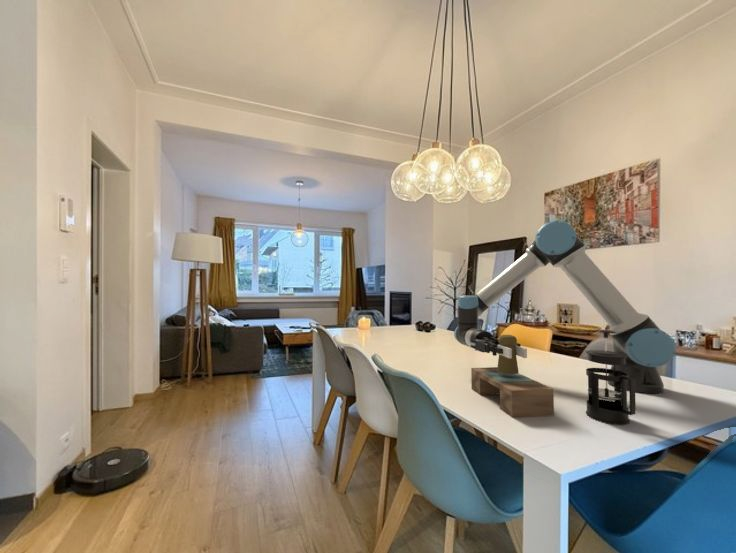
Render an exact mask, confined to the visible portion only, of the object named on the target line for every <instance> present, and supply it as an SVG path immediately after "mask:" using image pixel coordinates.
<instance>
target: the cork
mask: <svg viewBox="0 0 736 553" xmlns="http://www.w3.org/2000/svg"><path fill="white" fill-rule="evenodd" d="M497 339H498V342H499V344H500V345H501V346H505V347H508V348H511V349H512V358H507V357H504V356H502V355H499V354H498V360H497V371H498V372H501V373H505V374H517V373H519V367H518V360H517V355H516V351H515V346H516V344H517V343H518V340H517V338H516V336H514V335H511V334H501V335H500V336H499V337H498V338H497ZM519 374H520V373H519Z"/></svg>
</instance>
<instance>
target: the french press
mask: <svg viewBox="0 0 736 553" xmlns="http://www.w3.org/2000/svg"><path fill="white" fill-rule="evenodd" d="M596 332H597V333H602V334H603V338H604V348H605V349H604V350H602V349H600V350H599V349H595V350H594V349H593V350H590V349H589V350H586V351H585V353H586V354H587V359H588V361H589V362H592V363H597V364H601V365H604V366H605V368H604V367H603V368H602V367H588V368H586V369H585V372H586V374H585V375H586V376H587V381H588V382H587V386H588V388H587V393H588V396H587V397H588V398H587V400H586V410H585V414H587V415H586V416H587V417H588V416H589V417H588V418H590V417H591V419H592V418H593V419H592V420H594V419H595V421H597V420H598V421H597V422H600V421H601V423H604V422H605V423H604V424H610V425H615V424H616V426H617V425H618V426H621V425H623V426H624V425H628V424H630V422H631V421H630V418H629V417H630V416H633V415H636V412H637V410H636V409H637V408H636V391H635V379H633V378H629V377H628V374H627V373H624V372H621V371H618V370H613V369H611V368H608V365H610V366H612V365H625V364H626V363H625V358H627V357H628V356H627V355H626V354H622V353H618V352H613V350H612V351H611V350H608V344H607V343H608V340H607V339H608V338H609V333H616V332H614V331H610V329H608V330H607V329H597V330H596ZM608 374H613V375H614V376H608ZM601 380H602V381H605V388H602V387H601V388H600V386H599V385H600V384H599V382H600V381H601ZM628 380H629V390H627V381H628ZM608 381H614V386H613V387H614V388H613V390H612V389H609V387H608ZM628 391H629V394H628ZM628 395H629V407H628Z"/></svg>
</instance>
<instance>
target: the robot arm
mask: <svg viewBox="0 0 736 553" xmlns="http://www.w3.org/2000/svg"><path fill="white" fill-rule="evenodd" d="M586 247H587V246H586V245H585V243H584V242H583V241H582V240H581V239H580V238H579V237H578V236H577V232H576V230H575V228H574V227H573V226H572V225H571V224H570V223H568V222H566V221H563V220H550V221H548V222H546V223H544V224H543V225H542V226H541V227H539V229H538V230H537V231H536V233H535V237H534V241H533V242H532V243H531V244H530V245H529V246H528V247H527V248H526V249H525V253H523V254H522V255H521V256H520V257H519V258H518V259H516V260H515V261H514V262H512V264H510V265H509V266H508V267H506V268H505V269H504V270H503V271H502V272H501V273H500V274H498V276H496V277H495V278H493V279H492V281H490V282H489V283H488V284H487V285H486V286H484V287H483V288H481V289H480V290H479V291H478V292H477V293H476V294H475V295H465V294H464V295H459V296H458V298H457V326H456V328H455V329H454V332H453V336H454V338H455V340H456V341H457V342H458V343H459V344H461V345H463V346H466V347H469V348H471V349H474V351H477V352H479V353H486V354H490V353H492V356H494V357H496V356H499V355H502V356H504V357H507V358H512V349H511V348H508V347H505V346H501V345H500V344H499V342H498V339H499V338H496V337H494V335H493V334H492V333H491V332H490V331H487V330H484V329H482V328H479V317H480V316H481V315H483V313H484V312H485V311H486V310H488V309H489V308H490V307H492V305H494V304H496V303H497V302H498V301H499V300H500V299H502V298H503V297H505V295H507V294H508V293H509V292H510V291H512V290H513V289H515V287H517V286H518V285H519V284H520V283H522V282H523V281H524V280H526V279H527V278H528V277H529V276H530V275H531V274H533V273H534V272H535V271H537V270H538V269H539V268H540V267H541V268H543V267H546V266H547V265H549V264H551V265H552V267H554V268H560V269H561V270H562V272H564V273H565V274H566V276H567V277H568V278H569V279H570V281H571V282H572V283H573V284H574V285H575V287H576V288H577V289H578V290H579V291H580V293H581V294H582V296H584V297H585V299H586V300H587V301H588V302H589V303H590V305H591V306H593V309H595V310H596V311H597V312H598V314H599V315H600V316H601V318H602V319H603V320H604V321H605V322H606V324H608V326H609V328H610V329H609V330H610V331H614V332H616V333H608V335H610V336H611V338H612V352H618V353H622V354H626V355H627V356H628V357H627V358H625V363H626V364H625V365H610V366H611V367H610V369H613V370H618V371H621V372H624V373H627V374H628V377H629V378H633V379H635V393H644V394H645V393H647V394H659V393H661V394H662V393H664V390H665V384H664V382H663V380H662V377H661V375H660V373H659V370H658V368H659V367H662V366H665V365H667V364H669V363H670V362H671V361H672V360H673V358H675V355H676V351H677V350H676V349H677V348H676V343H675V341H674V339H673V338H672V336H670V334H669V333H666V331H664V330H662V329H660V327H659V326H658V325H657V324H656V323H655V321H653V319H651V317H650V316H649V315H648V314H644V313H639V312H638V311H637V310H636V309H635V308H634V307H633V306H632V304H631V303H630V302H629V301H628V300H627V299H626V297H625V296H624V295H623V294H622V293H621V292H620V291H619V289H617V288H616V286H615V285H614V284H613V283H612V281H610V279H609V278H608V277H607V276H606V274H605V273H603V272H602V270H601V269H600V268H599V266H597V265H596V264H595V262H594V261H593V260H592V259H591V258H590V257H589V256H588V254H586ZM515 351H516V357H517V356H518V357H520V358H523V359H527V358H528V349H527V348H526V347H523V346H521V344H520V343H518V342H517V344H516V346H515ZM607 376H614V375H613V374H607ZM607 384H609V385H610V386H612V387H614V381H607ZM627 391H629V380H628V381H627Z"/></svg>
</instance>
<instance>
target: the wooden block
mask: <svg viewBox="0 0 736 553" xmlns="http://www.w3.org/2000/svg"><path fill="white" fill-rule="evenodd" d="M497 367H498V366H497ZM497 367H493V366H492V367H491V366H490V367H471V368H470V369H471V372H470V373H471V385H470V386H471V390H472V391H473V392H475V393H477V394H478V395H480V396H483V395H484V396H485V395H486V396H487V395H499V410H501V412H504V413H505V414H507V415H508V416H509V417H511V418H524V417H525V418H528V417H546V416H547V417H549V416H550V415H551V416H554V415H555V408H554V407H555V405H554V404H555V401H554V396H555V395H554V394H555V393H554V388H552V387H550V386H548V385H545V384H543V383H541V382H540V381H537V380H534V379H532V378H530V377H528V376H525V375H523V374H521V373H517V374H505V373H501V372H498V371H497Z"/></svg>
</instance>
